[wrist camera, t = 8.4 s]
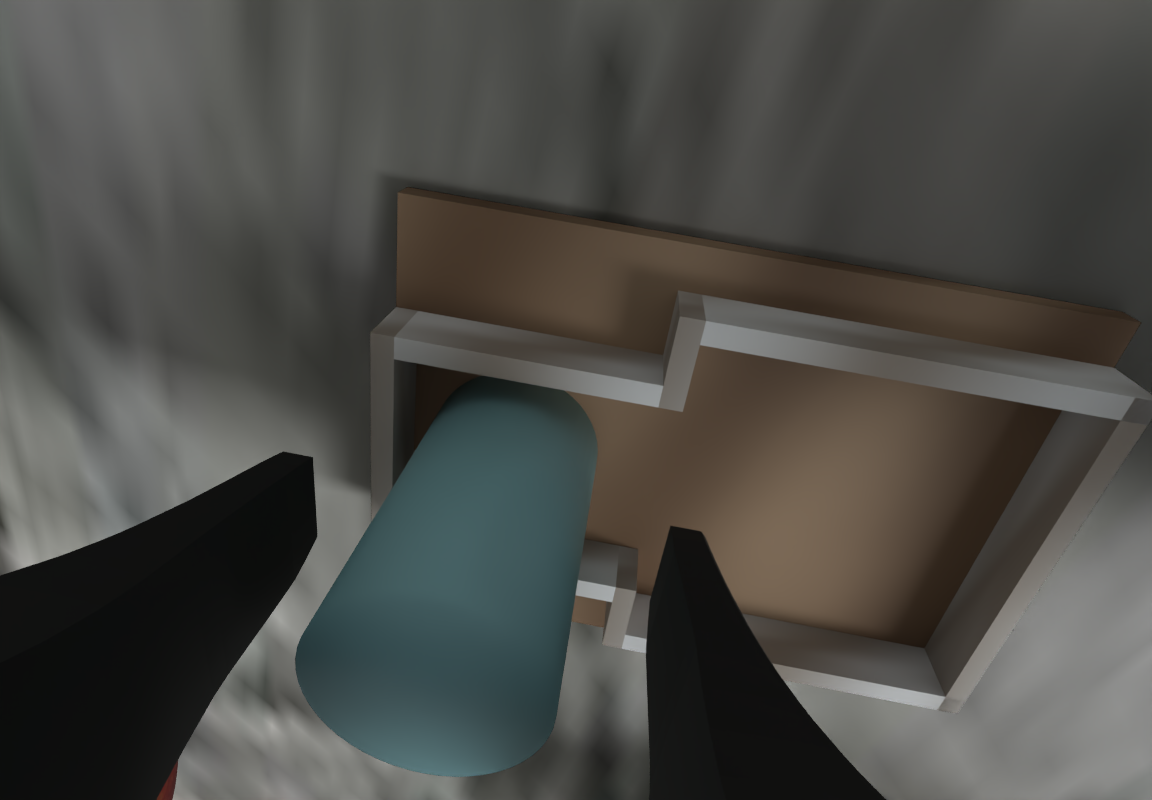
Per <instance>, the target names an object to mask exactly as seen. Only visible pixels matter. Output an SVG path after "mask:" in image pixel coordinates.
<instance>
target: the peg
mask: <svg viewBox="0 0 1152 800" xmlns="http://www.w3.org/2000/svg"><path fill="white" fill-rule="evenodd" d="M597 454H598V447H597V439H596V434H595V431H594V428H593V425H592V423H591V421H590V419H589V417H588V416H587V414H586V412H585V411H584V410H583V408H582V407H581V406H580V404H579V403H578V402H577V401H576V400H575V399H574V398H573V397H572V396H570V395H569V394H568V393H567V392H565V391H564V390H560V389H554V388H549V387H543V386H538V385H532V384H527V383H521V382H516V381H510V380H505V379H499V378H494V377H489V376H479V377H477V378H474V379H472V380H470V381H468V382H466V383H465V384H463V385H461V386H460V387H459V388H457V389H456V390H455V391H454V392H453V393H452V394H451V395H450V396H449V397H448V398H447V400H446V401H445V403H444V404H443V406H442V408H441V409H440V411H439V412H438V414H437V416H436V417H435V419H434V421H433V422H432V424H431V426H430V427H429V429H428V430H427V432H426V434H425V435H424V437H423V439H422V440H421V442H420V443H419V445H418V447H417V448H416V450H415V452H414V453H413V455H412V457H411V458H410V460H409V461H408V463H407V465H406V466H405V468H404V470H403V471H402V473H401V475H400V476H399V478H398V479H397V481H396V483H395V484H394V486H393V488H392V489H391V491H390V492H389V494H388V496H387V497H386V499H385V501H384V502H383V504H382V506H381V507H380V509H379V510H378V512H377V514H376V515H375V517H374V519H373V520H372V522H371V524H370V525H369V527H368V528H367V530H366V532H365V533H364V535H363V537H362V538H361V540H360V542H359V543H358V545H357V546H356V548H355V550H354V551H353V553H352V555H351V556H350V558H349V559H348V561H347V563H346V564H345V566H344V568H343V569H342V571H341V573H340V574H339V576H338V577H337V579H336V581H335V582H334V584H333V586H332V587H331V589H330V591H329V592H328V594H327V595H326V597H325V599H324V600H323V602H322V604H321V605H320V607H319V609H318V610H317V612H316V613H315V615H314V617H313V618H312V620H311V622H310V623H309V625H308V626H307V628H306V630H305V631H304V633H303V635H302V636H301V639H300V641H299V644H298V647H297V652H296V658H295V662H296V673H297V678H298V682H299V685H300V687H301V690H302V692H303V694H304V696H305V698H306V700H307V701H308V703H309V705H310V706H311V708H312V709H313V710H314V711H315V713H316V714H317V715H318V717H319V718H320V719H321V720H322V721H323V722H324V723H325V724H326V725H327V726H328V727H329V728H330V729H331V730H333V731H334V732H335V733H336V734H337V735H338V736H340V737H341V738H343V739H344V740H345V741H347V742H348V743H350V744H351V745H353V746H354V747H356V748H358V749H359V750H361V751H363V752H365V753H367V754H369V755H371V756H373V757H375V758H377V759H379V760H381V761H384V762H387V763H389V764H392V765H394V766H398V767H401V768H404V769H407V770H411V771H416V772H420V773H425V774H432V775H438V776H452V777H463V776H478V775H485V774H490V773H495V772H499V771H502V770H505V769H508V768H511V767H513V766H515V765H517V764H519V763H521V762H523V761H525V760H526V759H528V758H529V757H531V756H532V755H533V754H535V753H536V752H537V751H538V750H539V749H540V748H541V747H542V746H543V744H544V743H545V742H546V741H547V739H548V738H549V736H550V734H551V732H552V730H553V727H554V723H555V720H556V715H557V708H558V702H559V696H560V690H561V683H562V677H563V671H564V664H565V658H566V652H567V646H568V639H569V633H570V627H571V620H572V614H573V608H574V602H575V595H576V589H577V583H578V576H579V570H580V564H581V558H582V551H583V545H584V539H585V532H586V526H587V520H588V513H589V507H590V501H591V495H592V488H593V482H594V476H595V469H596V463H597Z"/></svg>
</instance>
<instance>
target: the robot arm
mask: <svg viewBox="0 0 1152 800" xmlns="http://www.w3.org/2000/svg"><path fill="white" fill-rule="evenodd" d="M316 538H317V521H316V504H315V487H314V470H313V457H309V456H303V455H298V454H293V453H288V452H282V453H279V454H277V455H275V456H273V457H271V458H269V459H267V460H265V461H263V462H261V463H259V464H257V465H255V466H254V467H252V468H250V469H248V470H246V471H244V472H242V473H240V474H238V475H237V476H235V477H233V478H231V479H229V480H227V481H225V482H223V483H221V484H220V485H218V486H216V487H214V488H212V489H210V490H208V491H206V492H204V493H202V494H200V495H198V496H196V497H195V498H193V499H191V500H189V501H187V502H185V503H183V504H181V505H178V506H176V507H174V508H172V509H170V510H168V511H166V512H164V513H161V514H159V515H157V516H155V517H153V518H151V519H149V520H147V521H145V522H142V523H140V524H138V525H136V526H134V527H132V528H129V529H127V530H125V531H123V532H120V533H118V534H115V535H113V536H111V537H108V538H106V539H103V540H101V541H98V542H96V543H93V544H91V545H88V546H85V547H83V548H80V549H78V550H75V551H72V552H70V553H67V554H64V555H62V556H59V557H56V558H53V559H50V560H47V561H44V562H41V563H38V564H35V565H32V566H29V567H25V568H22V569H19V570H16V571H13V572H10V573H7V574H4V575H1V576H0V800H157V798H158V796H159V794H160V792H161V790H162V788H163V787H164V785H165V783H166V781H167V779H168V777H169V775H170V774H171V772H172V770H173V768H174V766H175V764H176V763H177V761H178V759H179V757H180V755H181V753H182V751H183V750H184V748H185V746H186V744H187V742H188V741H189V739H190V737H191V735H192V734H193V732H194V730H195V728H196V727H197V725H198V723H199V721H200V720H201V718H202V716H203V714H204V713H205V711H206V709H207V707H208V706H209V704H210V702H211V700H212V699H213V697H214V695H215V694H216V692H217V691H218V689H219V688H220V686H221V685H222V683H223V682H224V680H225V678H226V677H227V675H228V674H229V673H230V671H231V670H232V668H233V667H234V665H235V664H236V663H237V661H238V660H239V658H240V657H241V656H242V654H243V653H244V651H245V650H246V649H247V647H248V646H249V644H250V643H251V642H252V640H253V639H254V637H255V636H256V635H257V633H258V632H259V630H260V629H261V628H262V626H263V625H264V623H265V622H266V621H267V619H268V618H269V616H270V615H271V614H272V612H273V611H274V609H275V608H276V606H277V605H278V604H279V602H280V601H281V599H282V598H283V596H284V595H285V593H286V592H287V591H288V589H289V588H290V586H291V585H292V583H293V582H294V580H295V579H296V577H297V575H298V573H299V571H300V569H301V567H302V566H303V564H304V562H305V560H306V558H307V556H308V554H309V552H310V550H311V548H312V546H313V544H314V542H315V540H316ZM646 669H647V697H648V722H649V748H650V794H649V800H886V799H885V798H884V797H883V796H882V795H881V794H880V793H879V792H878V791H877V790H876V789H875V788H874V787H873V786H872V785H871V784H870V783H869V782H868V781H867V780H866V779H865V778H864V777H863V776H862V775H861V774H860V773H859V772H858V771H857V770H856V768H855V767H854V766H853V765H852V764H851V763H850V762H849V761H848V760H847V759H846V758H845V757H844V755H843V754H842V753H841V752H840V751H839V750H838V748H837V747H836V746H835V745H834V744H833V743H832V741H831V740H830V739H829V738H828V737H827V736H826V734H825V733H824V732H823V731H822V730H821V729H820V727H819V726H818V725H817V724H816V723H815V722H814V721H813V719H812V718H811V717H810V715H809V714H808V713H807V712H806V710H805V709H804V708H803V706H802V705H801V704H800V703H799V701H798V700H797V699H796V697H795V696H794V694H793V693H792V692H791V690H790V689H789V687H788V686H787V685H786V683H785V682H784V681H783V679H782V678H781V676H780V675H779V673H778V672H777V670H776V669H775V667H774V666H773V664H772V663H771V661H770V660H769V658H768V657H767V655H766V653H765V652H764V650H763V648H762V647H761V645H760V644H759V642H758V640H757V639H756V637H755V635H754V634H753V632H752V630H751V629H750V627H749V625H748V623H747V622H746V620H745V618H744V616H743V614H742V612H741V611H740V609H739V607H738V605H737V603H736V601H735V599H734V598H733V596H732V594H731V592H730V590H729V588H728V586H727V584H726V582H725V580H724V578H723V576H722V574H721V571H720V569H719V567H718V565H717V563H716V561H715V558H714V556H713V554H712V552H711V549H710V547H709V545H708V542H707V540H706V537H705V536H704V534H703V533H702V531H697V530H692V529H687V528H681V527H676V526H671V525H670V529H669V533H668V536H667V540H666V544H665V547H664V551H663V554H662V558H661V562H660V565H659V569H658V573H657V576H656V580H655V584H654V587H653V591H652V595H651V598H650V604H649V615H648V627H647V641H646Z"/></svg>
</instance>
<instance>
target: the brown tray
mask: <svg viewBox="0 0 1152 800" xmlns="http://www.w3.org/2000/svg"><path fill="white" fill-rule="evenodd" d="M1140 324H1141V322H1139V321H1138V320H1136V319H1134V318H1132V317H1131V316H1129V315H1127V314H1125V313H1124V312H1120V311H1115V310H1109V309H1103V308H1098V307H1092V306H1086V305H1080V304H1075V303H1069V302H1063V301H1057V300H1052V299H1046V298H1040V297H1035V296H1029V295H1023V294H1017V293H1012V292H1006V291H1000V290H994V289H989V288H983V287H977V286H972V285H966V284H960V283H954V282H949V281H943V280H937V279H931V278H926V277H920V276H914V275H909V274H903V273H897V272H891V271H886V270H880V269H874V268H869V267H863V266H857V265H851V264H846V263H840V262H834V261H828V260H823V259H817V258H811V257H806V256H800V255H794V254H788V253H783V252H777V251H771V250H765V249H760V248H754V247H748V246H743V245H737V244H731V243H725V242H720V241H714V240H708V239H703V238H697V237H691V236H685V235H680V234H674V233H668V232H662V231H657V230H651V229H645V228H640V227H634V226H628V225H622V224H617V223H611V222H605V221H599V220H594V219H588V218H582V217H577V216H571V215H565V214H559V213H554V212H548V211H542V210H536V209H531V208H525V207H519V206H514V205H508V204H502V203H496V202H491V201H485V200H479V199H474V198H468V197H462V196H456V195H451V194H445V193H439V192H433V191H428V190H422V189H416V188H411V187H407V188H405V189H403V190H401V191H400V192H398V211H397V283H396V308H395V309H394V310H393V311H392V312H391V313H390V314H389V315H387V316H386V317H385V318H384V319H383V320H382V321H381V322H380V323H379V324H378V325H377V326H376V327H375V328H374V329H373V330H372V331H371V332H370V396H371V522H372V520H373V519H374V517H375V515H376V514H377V512H378V510H379V509H380V507H381V506H382V504H383V502H384V501H385V499H386V497H387V496H388V494H389V492H390V491H391V489H392V488H393V486H394V484H395V483H396V481H397V479H398V478H399V476H400V475H401V473H402V471H403V470H404V468H405V466H406V465H407V463H408V461H409V460H410V458H411V457H412V455H413V453H414V452H415V450H416V448H417V447H418V445H419V443H420V442H421V440H422V439H423V437H424V435H425V434H426V432H427V430H428V429H429V427H430V426H431V424H432V422H433V421H434V419H435V417H436V416H437V414H438V412H439V411H440V409H441V408H442V406H443V404H444V403H445V401H446V400H447V398H448V397H449V396H450V395H451V394H452V393H453V392H454V391H455V390H456V389H457V388H459V387H460V386H461V385H463V384H465V383H466V382H468V381H470V380H472V379H474V378H477V377H479V376H489V377H494V378H499V379H505V380H510V381H516V382H521V383H527V384H532V385H538V386H543V387H549V388H554V389H560V390H564V391H565V392H567V393H568V394H569V395H570V396H572V397H573V398H574V399H575V400H576V401H577V402H578V403H579V404H580V406H581V407H582V408H583V410H584V411H585V412H586V414H587V416H588V417H589V419H590V421H591V423H592V425H593V428H594V431H595V434H596V439H597V447H598V454H597V463H596V469H595V476H594V482H593V488H592V495H591V501H590V507H589V513H588V520H587V526H586V532H585V539H584V545H583V551H582V558H581V564H580V570H579V576H578V583H577V589H576V595H575V602H574V608H573V614H572V620H571V621H573V622H578V623H583V624H588V625H593V626H598V627H604V631H603V641H602V645H606V646H611V647H616V648H621V649H626V650H632V651H637V652H642V653H646V641H647V627H648V615H649V604H650V598H651V595H652V591H653V587H654V584H655V580H656V576H657V573H658V569H659V565H660V562H661V558H662V554H663V551H664V547H665V544H666V540H667V536H668V533H669V529H670V525H671V526H676V527H681V528H687V529H692V530H697V531H702V533H703V534H704V536H705V537H706V540H707V542H708V545H709V547H710V549H711V552H712V554H713V556H714V558H715V561H716V563H717V565H718V567H719V569H720V571H721V574H722V576H723V578H724V580H725V582H726V584H727V586H728V588H729V590H730V592H731V594H732V596H733V598H734V599H735V601H736V603H737V605H738V607H739V609H740V611H741V612H742V614H743V616H744V618H745V620H746V622H747V623H748V625H749V627H750V629H751V630H752V632H753V634H754V635H755V637H756V639H757V640H758V642H759V644H760V645H761V647H762V648H763V650H764V652H765V653H766V655H767V657H768V658H769V660H770V661H771V663H772V664H773V666H774V667H775V669H776V670H777V672H778V673H779V675H780V676H781V678H782V679H783V680H786V681H791V682H796V683H801V684H806V685H811V686H816V687H822V688H827V689H832V690H837V691H842V692H847V693H852V694H858V695H863V696H868V697H873V698H878V699H883V700H888V701H893V702H899V703H904V704H909V705H914V706H919V707H924V708H929V709H935V710H940V711H945V712H950V713H955V714H958V712H959V711H960V709H961V708H962V706H963V705H964V703H965V702H966V700H967V699H968V697H969V696H970V694H971V693H972V691H973V689H974V688H975V686H976V685H977V683H978V682H979V680H980V679H981V677H982V676H983V674H984V673H985V671H986V670H987V668H988V667H989V665H990V664H991V662H992V661H993V659H994V658H995V656H996V655H997V653H998V652H999V650H1000V649H1001V647H1002V646H1003V644H1004V643H1005V641H1006V639H1007V638H1008V636H1009V635H1010V633H1011V632H1012V630H1013V629H1014V627H1015V626H1016V624H1017V623H1018V621H1019V620H1020V618H1021V617H1022V615H1023V614H1024V612H1025V611H1026V609H1027V608H1028V606H1029V605H1030V603H1031V602H1032V600H1033V599H1034V597H1035V596H1036V594H1037V593H1038V591H1039V589H1040V588H1041V586H1042V585H1043V583H1044V582H1045V580H1046V579H1047V577H1048V576H1049V574H1050V573H1051V571H1052V570H1053V568H1054V567H1055V565H1056V564H1057V562H1058V561H1059V559H1060V558H1061V556H1062V555H1063V553H1064V552H1065V550H1066V549H1067V547H1068V546H1069V544H1070V543H1071V541H1072V539H1073V538H1074V536H1075V535H1076V533H1077V532H1078V530H1079V529H1080V527H1081V526H1082V524H1083V523H1084V521H1085V520H1086V518H1087V517H1088V515H1089V514H1090V512H1091V511H1092V509H1093V508H1094V506H1095V505H1096V503H1097V502H1098V500H1099V499H1100V497H1101V496H1102V494H1103V493H1104V491H1105V489H1106V488H1107V486H1108V485H1109V483H1110V482H1111V480H1112V479H1113V477H1114V476H1115V474H1116V473H1117V471H1118V470H1119V468H1120V467H1121V465H1122V464H1123V462H1124V461H1125V459H1126V458H1127V456H1128V455H1129V453H1130V452H1131V450H1132V449H1133V447H1134V446H1135V444H1136V443H1137V441H1138V439H1139V438H1140V436H1141V435H1142V433H1143V432H1144V430H1145V429H1146V427H1147V426H1148V424H1149V423H1150V421H1151V420H1152V394H1150V393H1149V392H1147V391H1146V390H1145V389H1143V388H1142V387H1140V386H1139V385H1138V384H1136V383H1135V382H1133V381H1132V380H1131V379H1129V378H1128V377H1126V376H1125V375H1124V374H1122V373H1121V372H1119V371H1118V370H1117V369H1115V368H1114V367H1115V366H1116V364H1117V362H1118V361H1119V359H1120V357H1121V356H1122V354H1123V352H1124V351H1125V349H1126V347H1127V346H1128V344H1129V342H1130V341H1131V339H1132V337H1133V336H1134V334H1135V332H1136V331H1137V329H1138V327H1139V326H1140Z"/></svg>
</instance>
